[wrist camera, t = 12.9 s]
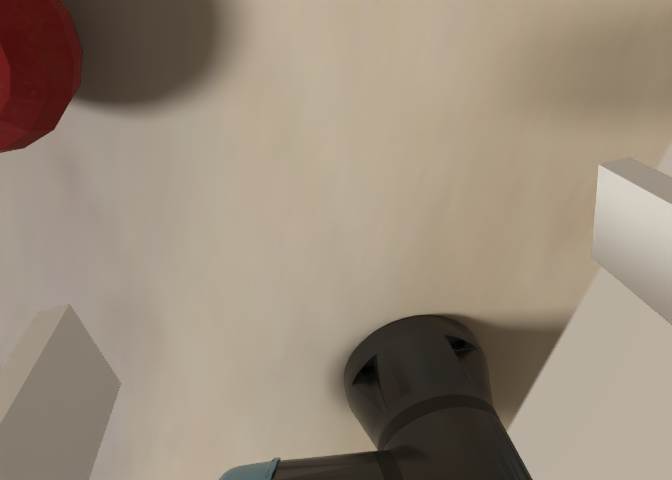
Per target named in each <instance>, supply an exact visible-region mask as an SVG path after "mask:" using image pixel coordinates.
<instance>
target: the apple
mask: <svg viewBox="0 0 672 480" xmlns="http://www.w3.org/2000/svg"><path fill="white" fill-rule="evenodd" d="M82 52H83V51H82V48H81V45H80V42H79V39H78V35H77V32H76V29H75V26H74V23H73V20H72V17H71V14H70V13H69V11H68V10H67V9H66V7H65V6H64V5H63V4H62V2H61V1H60V0H0V153H2V152H7V151H12V150H17V149H22V148H25V147H27V146H28V145H30V144H32V143H33V142H35V141H36V140H38V139H40V138H41V137H43V136H44V135H46V134H48V133H49V132H51V131H53V130H54V129H55V127H56V125H57V124H58V122H59V120H60V118H61V117H62V115H63V113H64V111H65V110H66V108H67V106H68V104H69V103H70V101H71V99H72V97H73V96H74V94H75V93H76V91H77V89H78V88H79V86H80V83H81V67H82Z"/></svg>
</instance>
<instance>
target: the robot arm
mask: <svg viewBox="0 0 672 480" xmlns="http://www.w3.org/2000/svg"><path fill="white" fill-rule="evenodd" d="M591 258H592V259H594V260H595V261H596V262H597V263H598V264H600V265H601V266H602V267H603V268H604V269H606V270H607V271H608V272H609V273H610V274H612V275H613V276H614V277H615V278H617V279H618V280H619V281H620V282H621V283H623V285H625V286H626V287H627V288H628V289H630V290H631V291H632V292H633V293H634V294H635V295H637V296H638V297H639V298H640V299H641V300H643V301H644V302H645V303H646V304H647V305H649V306H650V307H651V308H652V309H653V310H655V311H656V312H657V313H658V314H659V315H661V316H662V317H663V318H664V319H665V320H667V321H668V322H669V323H670V324H671V325H672V177H670V176H668V175H666V174H664V173H662V172H660V171H658V170H656V169H654V168H652V167H649V166H647V165H645V164H643V163H641V162H639V161H637V160H635V159H633V158H631V157H626V158H622V159H618V160H615V161H611V162H607V163H603V164H599V170H598V182H597V195H596V207H595V220H594V232H593V245H592V257H591ZM120 385H121V382H120V381H119V379H118V378H117V376H116V375H115V373H114V372H113V370H112V369H111V367H110V366H109V364H108V362H107V361H106V359H105V358H104V356H103V355H102V353H101V352H100V350H99V349H98V347H97V345H96V344H95V342H94V341H93V339H92V338H91V336H90V335H89V333H88V332H87V330H86V329H85V327H84V325H83V324H82V322H81V321H80V319H79V318H78V316H77V315H76V313H75V312H74V310H73V308H72V307H71V305H70V304H68V305H64V306H60V307H56V308H52V309H49V310H45V311H41V312H38V313H37V314H36V316H35V318H34V319H33V321H32V322H31V324H30V325H29V327H28V328H27V330H26V331H25V333H24V334H23V336H22V337H21V339H20V340H19V342H18V343H17V345H16V346H15V348H14V349H13V351H12V352H11V354H10V356H9V357H8V359H7V360H6V362H5V363H4V365H3V366H2V368H1V369H0V480H89V477H90V474H91V471H92V468H93V465H94V462H95V459H96V456H97V453H98V450H99V447H100V444H101V441H102V438H103V435H104V432H105V430H106V427H107V424H108V421H109V418H110V415H111V412H112V409H113V406H114V403H115V400H116V397H117V394H118V391H119V388H120ZM344 385H345V390H346V394H347V399H348V403H349V405H350V408H351V410H352V412H353V413H354V415H355V416H356V418H357V419H358V421H359V422H360V424H361V426H362V427H363V429H364V430H365V432H366V433H367V435H368V436H369V438H370V439H371V441H372V442H373V444H374V445H375V447H376V448H377V451H373V452H370V451H369V452H360V453H351V454H341V455H332V456H323V457H314V458H304V459H294V460H282V461H280V458H274V459H273V460H272V461H269V462H263V463H256V464H250V465H243V466H238V467H234V468H232V469H230V470H228V471H227V472H225V473H224V474H223V475H222V476H221V478H220V479H219V480H533V479H532V478H531V476H530V474H529V472H528V470H527V469H526V467H525V465H524V463H523V461H522V459H521V458H520V456H519V454H518V452H517V450H516V448H515V447H514V445H513V443H512V441H511V439H510V438H509V436H508V434H507V432H506V430H505V428H504V426H503V424H502V423H501V421H500V419H499V417H498V415H497V413H496V411H495V409H494V407H493V401H492V394H491V387H490V380H489V373H488V366H487V361H486V358H485V355H484V353H483V351H482V349H481V347H480V345H479V344H478V342H477V340H476V339H475V337H474V336H473V334H472V333H471V332H470V331H469V330H468V329H467V328H466V327H464V326H463V325H461V324H460V323H458V322H456V321H453V320H450V319H447V318H443V317H436V316H419V317H411V318H407V319H403V320H399V321H396V322H393V323H391V324H389V325H386V326H384V327H382V328H380V329H379V330H377V331H375V332H374V333H372V334H371V335H370V336H368V337H367V338H366V339H365V340H364V341H363V342H362V343H360V345H359V346H358V347H357V348H356V349H355V350H354V352H353V353H352V355H351V356H350V358H349V360H348V362H347V365H346V368H345V373H344Z"/></svg>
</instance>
